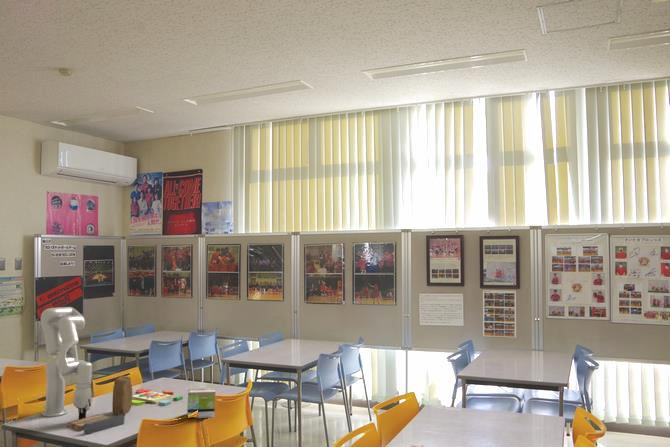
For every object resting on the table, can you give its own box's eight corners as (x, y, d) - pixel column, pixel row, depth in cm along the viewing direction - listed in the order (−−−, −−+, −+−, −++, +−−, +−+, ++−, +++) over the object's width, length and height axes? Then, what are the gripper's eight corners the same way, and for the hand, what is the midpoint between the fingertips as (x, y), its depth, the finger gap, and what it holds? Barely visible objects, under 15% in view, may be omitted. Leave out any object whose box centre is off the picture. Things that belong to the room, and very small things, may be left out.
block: (121, 415, 307) (123, 379, 309) (110, 414, 309) (112, 378, 311) (133, 410, 318) (135, 375, 319) (122, 409, 320) (124, 375, 321)
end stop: (83, 433, 275) (84, 423, 276) (121, 422, 294) (121, 413, 294) (86, 434, 274) (87, 424, 274) (124, 423, 292) (124, 414, 293)
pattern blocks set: (192, 395, 356) (192, 390, 356) (163, 408, 324) (164, 403, 324) (141, 390, 366) (141, 386, 366) (108, 403, 333) (108, 398, 334)
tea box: (187, 419, 302) (188, 392, 303) (187, 414, 312) (188, 388, 313) (214, 417, 306) (215, 391, 307) (213, 412, 316) (214, 387, 317)
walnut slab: (68, 427, 286) (68, 422, 286) (99, 419, 301) (99, 414, 301) (81, 432, 279) (81, 426, 280) (112, 423, 294) (112, 418, 295)
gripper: (69, 384, 296) (67, 419, 295) (85, 388, 288) (84, 423, 287) (81, 382, 303) (80, 415, 302) (98, 386, 295) (96, 420, 294)
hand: (82, 419), depth 294 cm, fingers closed
